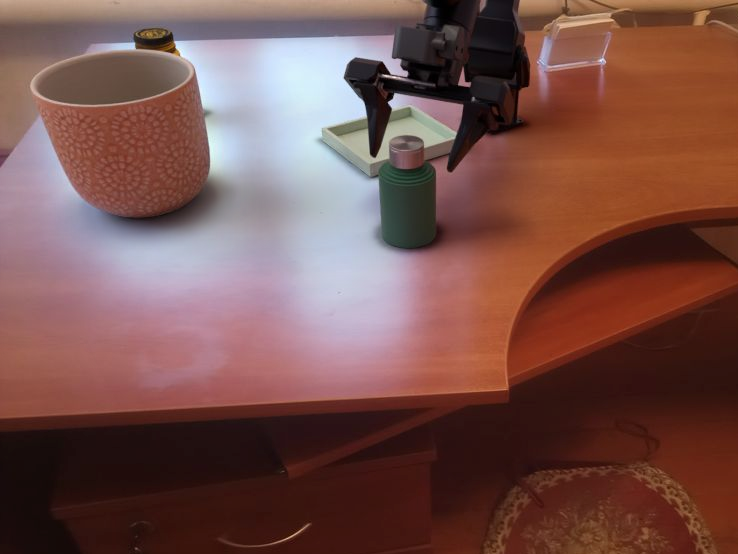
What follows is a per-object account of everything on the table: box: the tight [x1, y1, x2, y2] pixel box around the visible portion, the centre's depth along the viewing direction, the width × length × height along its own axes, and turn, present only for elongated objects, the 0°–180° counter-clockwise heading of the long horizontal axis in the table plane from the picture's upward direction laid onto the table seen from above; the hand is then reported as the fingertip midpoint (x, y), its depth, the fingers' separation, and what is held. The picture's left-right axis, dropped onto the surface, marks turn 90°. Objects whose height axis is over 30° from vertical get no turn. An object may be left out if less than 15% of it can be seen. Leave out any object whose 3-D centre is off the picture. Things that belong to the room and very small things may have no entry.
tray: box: [320, 104, 457, 178], centre depth 102 cm, size 15×13×2 cm
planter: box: [29, 48, 211, 219], centre depth 85 cm, size 17×17×15 cm
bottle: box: [377, 160, 437, 249], centre depth 82 cm, size 6×6×11 cm
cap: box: [389, 135, 426, 169], centre depth 79 cm, size 4×4×2 cm
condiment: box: [132, 27, 206, 114], centre depth 104 cm, size 7×8×12 cm
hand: (410, 163), depth 81 cm, fingers open, 9 cm apart
